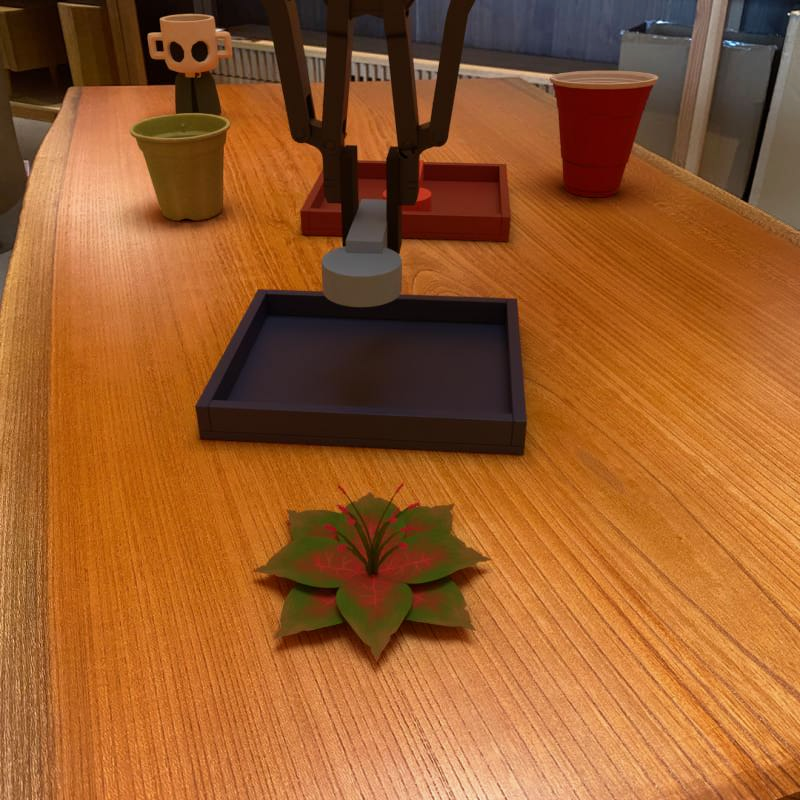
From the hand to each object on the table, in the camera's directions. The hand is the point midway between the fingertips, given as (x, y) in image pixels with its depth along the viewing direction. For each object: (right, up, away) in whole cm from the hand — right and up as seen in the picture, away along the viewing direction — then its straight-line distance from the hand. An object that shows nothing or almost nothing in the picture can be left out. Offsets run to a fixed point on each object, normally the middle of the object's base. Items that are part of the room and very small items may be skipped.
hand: (372, 249), depth 55 cm
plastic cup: (+23, +13, +36) cm, 44 cm away
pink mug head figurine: (-26, +29, +62) cm, 73 cm away
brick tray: (+3, +10, +31) cm, 32 cm away
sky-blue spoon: (0, -2, -2) cm, 3 cm away
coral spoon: (+3, +10, +30) cm, 32 cm away
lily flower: (+1, -19, -14) cm, 24 cm away
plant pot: (-19, +9, +30) cm, 36 cm away
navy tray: (0, -8, +2) cm, 9 cm away
